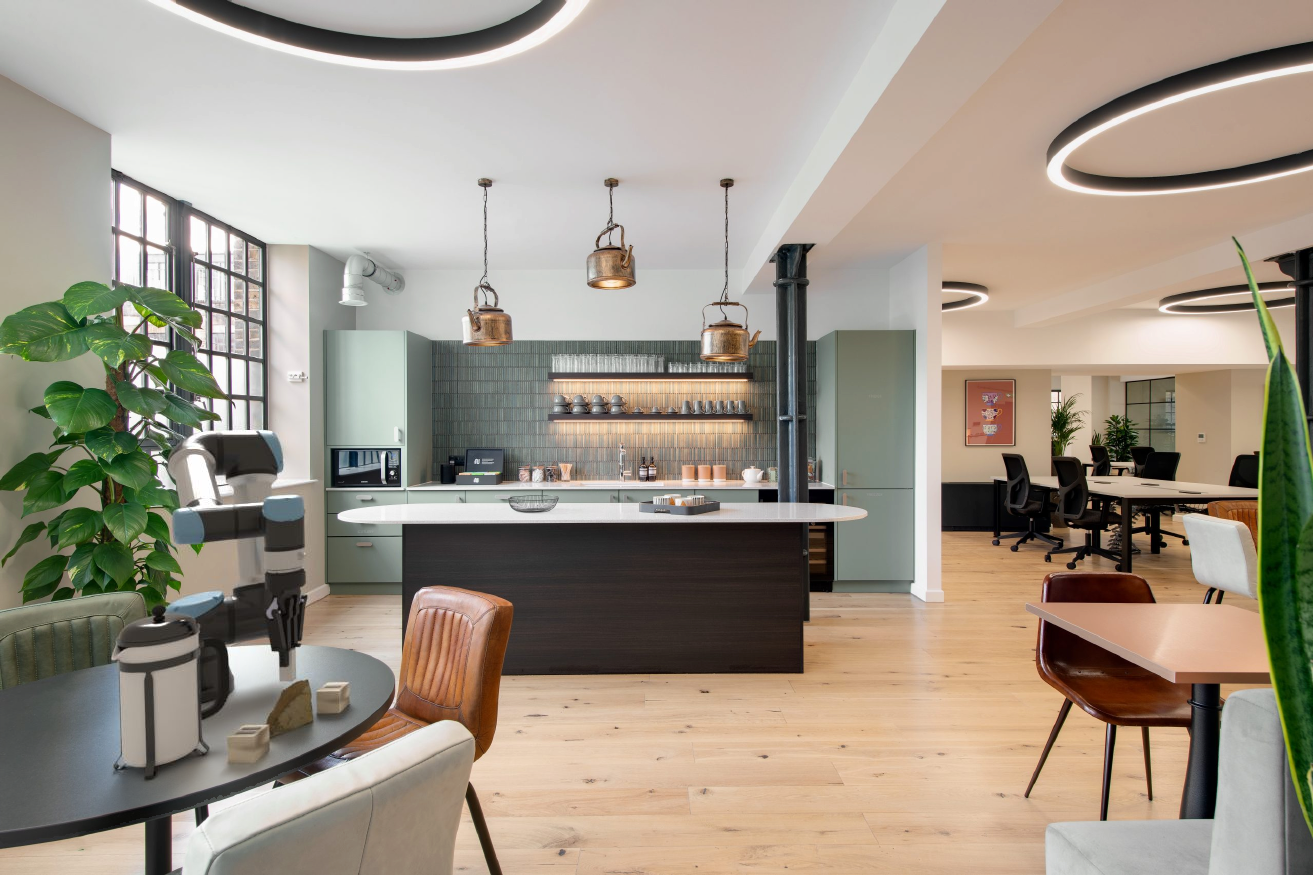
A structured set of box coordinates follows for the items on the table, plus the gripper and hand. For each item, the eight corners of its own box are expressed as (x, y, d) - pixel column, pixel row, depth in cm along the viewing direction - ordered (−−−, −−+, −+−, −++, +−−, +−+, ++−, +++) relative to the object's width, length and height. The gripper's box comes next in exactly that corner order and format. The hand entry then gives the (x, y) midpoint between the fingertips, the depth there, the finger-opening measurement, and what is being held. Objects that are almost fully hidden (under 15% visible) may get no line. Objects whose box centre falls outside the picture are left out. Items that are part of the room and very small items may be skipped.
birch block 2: (327, 704, 150) (327, 682, 150) (349, 703, 150) (349, 681, 150) (316, 713, 145) (316, 690, 145) (339, 713, 145) (338, 690, 145)
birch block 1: (244, 750, 129) (243, 724, 128) (269, 749, 129) (269, 724, 129) (227, 763, 124) (227, 736, 124) (254, 762, 124) (253, 736, 124)
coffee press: (199, 773, 120) (195, 611, 119) (94, 788, 115) (89, 619, 115) (231, 731, 136) (228, 588, 136) (141, 742, 132) (137, 595, 131)
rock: (261, 735, 130) (316, 715, 135) (254, 693, 133) (308, 676, 139) (265, 748, 138) (317, 729, 143) (258, 709, 141) (309, 692, 147)
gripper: (285, 575, 131) (288, 692, 131) (319, 562, 144) (321, 668, 144) (248, 576, 131) (251, 693, 131) (284, 562, 144) (287, 668, 144)
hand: (287, 680), depth 138 cm, fingers closed
